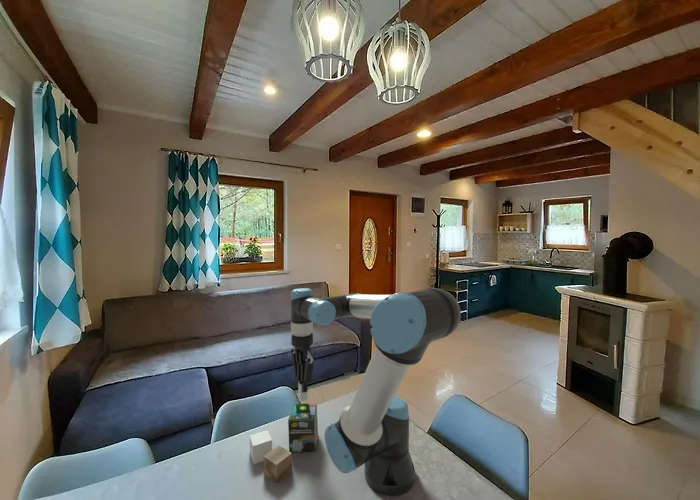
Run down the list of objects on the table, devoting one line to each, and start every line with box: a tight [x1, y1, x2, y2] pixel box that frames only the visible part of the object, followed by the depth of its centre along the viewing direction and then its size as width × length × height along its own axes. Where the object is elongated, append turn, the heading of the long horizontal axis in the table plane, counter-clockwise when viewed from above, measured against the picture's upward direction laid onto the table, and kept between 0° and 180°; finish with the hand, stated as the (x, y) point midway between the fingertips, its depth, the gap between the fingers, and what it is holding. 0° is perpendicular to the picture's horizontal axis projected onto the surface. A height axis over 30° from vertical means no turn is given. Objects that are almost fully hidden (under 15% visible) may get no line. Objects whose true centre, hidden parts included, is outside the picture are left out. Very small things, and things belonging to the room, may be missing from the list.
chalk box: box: [287, 403, 319, 453], centre depth 105 cm, size 9×9×15 cm
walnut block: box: [263, 445, 293, 485], centre depth 91 cm, size 6×6×6 cm
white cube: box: [249, 429, 273, 465], centre depth 99 cm, size 6×6×6 cm
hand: (303, 399), depth 105 cm, fingers closed
